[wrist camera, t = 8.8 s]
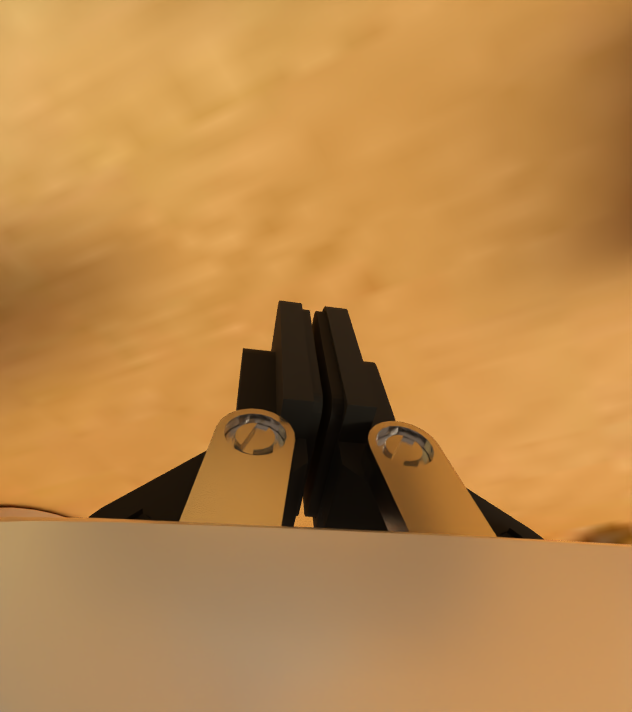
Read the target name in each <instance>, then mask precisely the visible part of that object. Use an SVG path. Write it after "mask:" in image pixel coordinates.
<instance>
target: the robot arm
mask: <svg viewBox="0 0 632 712" xmlns="http://www.w3.org/2000/svg"><path fill="white" fill-rule="evenodd" d="M302 498H303V503H304V514H305V516H308V517H313V524H314V528H311V527H294V522H295V518H296V516H298V514H299V511H300V506H301V502H302ZM0 712H632V545H628V544H609V543H592V542H575V541H558V540H544V539H543V538H542V537H540V536H539V535H538V534H536V533H535V532H534V531H532V530H531V529H529V528H528V527H526V526H525V525H523V524H522V523H520V522H518V521H517V520H515V519H514V518H512V517H511V516H509V515H508V514H506V513H504V512H503V511H501V510H500V509H498V508H497V507H495V506H494V505H492V504H490V503H489V502H487V501H486V500H484V499H483V498H481V497H480V496H478V495H476V494H475V493H473V492H472V491H470V490H469V489H467V488H466V487H465V486H464V484H463V482H462V481H461V479H460V478H459V476H458V475H457V473H456V471H455V470H454V468H453V467H452V465H451V464H450V462H449V460H448V459H447V457H446V456H445V454H444V452H443V451H442V449H441V448H440V446H439V445H438V443H437V442H436V441H435V440H434V439H433V437H432V436H430V435H429V434H428V433H426V432H425V431H424V430H422V429H420V428H418V427H416V426H414V425H411V424H408V423H404V422H398V421H395V418H394V415H393V412H392V409H391V406H390V403H389V400H388V398H387V395H386V392H385V389H384V386H383V383H382V380H381V377H380V375H379V372H378V369H377V366H376V364H375V363H373V362H364V361H363V359H362V356H361V353H360V350H359V346H358V343H357V340H356V337H355V333H354V330H353V327H352V324H351V320H350V317H349V314H348V311H347V309H342V308H334V307H326V306H325V307H324V309H323V311H322V312H319V311H316V312H315V314H314V318H313V323H311V317H310V311H309V310H303V309H302V304H301V303H294V302H286V301H279V303H278V309H277V315H276V322H275V329H274V336H273V342H272V349H271V351H263V350H254V349H245V348H243V353H242V362H241V371H240V379H239V389H238V398H237V407H236V411H234V412H232V413H229V414H228V415H226V416H225V417H223V418H222V419H221V420H220V422H219V423H218V425H217V426H216V429H215V431H214V434H213V436H212V439H211V441H210V444H209V446H208V449H207V451H205V452H203V453H201V454H199V455H198V456H196V457H194V458H192V459H190V460H188V461H187V462H185V463H183V464H181V465H179V466H177V467H176V468H174V469H172V470H170V471H168V472H167V473H165V474H163V475H161V476H159V477H157V478H156V479H154V480H152V481H150V482H148V483H146V484H145V485H143V486H141V487H139V488H137V489H135V490H134V491H132V492H130V493H128V494H126V495H124V496H123V497H121V498H119V499H117V500H115V501H113V502H112V503H110V504H108V505H106V506H104V507H102V508H101V509H99V510H98V511H97V512H95V513H94V514H92V515H91V516H90V517H89V518H66V517H63V516H60V515H57V514H53V513H48V512H43V511H39V510H34V509H23V508H13V507H7V508H0Z"/></svg>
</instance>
